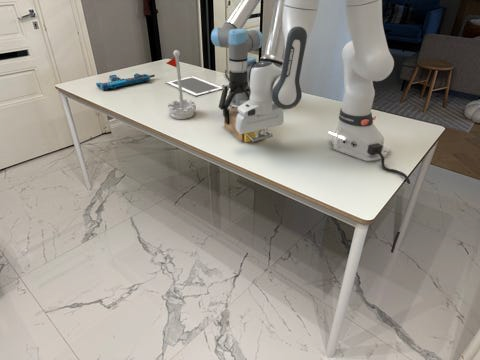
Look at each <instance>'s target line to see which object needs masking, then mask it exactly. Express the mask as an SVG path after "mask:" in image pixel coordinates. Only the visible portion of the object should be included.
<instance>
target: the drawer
mask: <svg viewBox="0 0 480 360" xmlns="http://www.w3.org/2000/svg"><path fill="white" fill-rule="evenodd" d="M261 131H262V130H259V132H258V134H260V133H261ZM273 137H274V135H273V133H270V132H269V131H266V133H265V134H264V136H260V137H256V135H255V133H254V132H249V133H244V138H245V142H244V143H248V142H252V143H254V142H258V141H262V140H266V139H271V138H273Z"/></svg>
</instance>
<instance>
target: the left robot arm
mask: <svg viewBox="0 0 480 360" xmlns="http://www.w3.org/2000/svg"><path fill="white" fill-rule="evenodd" d="M284 1H285V0H274V7H273V10H272V11H273V12H272V16H271V21H270V26H269V30H268V36H267V41H266V43H265V44H266V46H265V49H264V54H263V55H262V56H261V57H260V58H259V61H257V58H256V57H253V56H249V55H248V54H249V53H250V52H254V51H257V50H258V49H260V48H261V47H262V46H263V44H264V41H265V39H264V35H263V33H262V32H261V31H260V30H258V29H251V30H248V29H245V28H244V27H245V25H246V23H247V21H248V20H249V19H250V17H251V16H252V14H253V13H254V11H255V10H256V8H257V6H258V5H259V4H260V3H261V0H238V3H237V4H236V5H235V6H234V9H233V10H232V11H231V13H230V14H229V16H228V17H227V19H226V20H225V22H224V23H223V25H222V26H221V27H220V26H219V27H215V28H213V29H212V30H211V34H210V40H211V43H212V45H214V46H215V47H219V48H226V49H228V70H229V72H228V75H227V69H225V71H224V75H225V78H226V79H227V80H228V81H229V83H228V84H223V85H221V87H222V89H221V96H220V98H219V103H218V108H219V109H220V110H222V116H223V118H224V117H225V123H226V124H228V125H229V110H228V109H229V107H230V108H235V107H238V106H240V105H242V104H243V103H245V102H247V101H248V100H249V98H250V94H251V90H250V74H251V69H252V67H253V66H254V65H255V64H256V63H259V62H263V61H270V62H272V63H273V64H274V65H276V66H277V67H279V68H281V69H282V65H283V57H284V52H285V41H284V34H283V27H282V17H283V7H284ZM229 89H230V90H229Z"/></svg>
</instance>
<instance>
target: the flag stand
mask: <svg viewBox="0 0 480 360" xmlns="http://www.w3.org/2000/svg"><path fill="white" fill-rule="evenodd" d="M180 55H181V51H180V50H178V49H175V50H174V51H173V56H174V57H173V58H172V59H170V60H168V61H167V62H166V63H165V64H167V65H169V66H172V67H174V68H176V78H177V80H178V88H177V89H178V96H179V101H178V100H177V99H175V100H171V102H169V103H168V104H167V107H168V111H169V112H170V115H171V117H172V118H173V119H177V120H186V119H190V118H192V117H194V115H195V111H196V108H197V106H196V103H195V101H194V100H189V101H187V99H186V98H185V99H184V95H183V90H182V85H181V79H182V76H181V65H180Z"/></svg>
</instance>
